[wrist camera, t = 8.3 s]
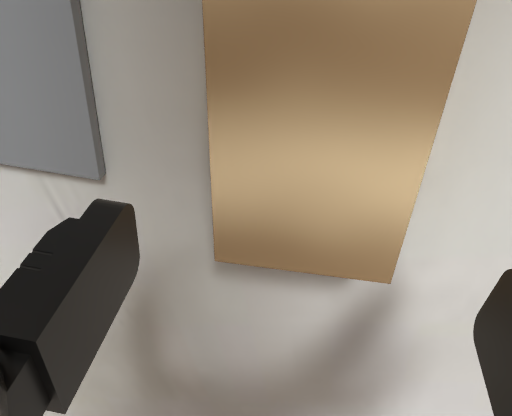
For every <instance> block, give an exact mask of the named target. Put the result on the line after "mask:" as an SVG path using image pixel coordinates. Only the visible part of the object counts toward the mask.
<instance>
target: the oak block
mask: <svg viewBox="0 0 512 416" xmlns="http://www.w3.org/2000/svg"><path fill="white" fill-rule="evenodd" d="M476 1H477V0H202V5H203V26H204V47H205V68H206V89H207V110H208V131H209V152H210V173H211V194H212V215H213V235H214V256H215V261H218V262H226V263H234V264H241V265H249V266H257V267H264V268H272V269H280V270H288V271H295V272H303V273H311V274H318V275H326V276H334V277H341V278H349V279H357V280H364V281H372V282H380V283H387V284H390V283H391V280H392V277H393V273H394V270H395V267H396V263H397V260H398V257H399V254H400V250H401V247H402V244H403V241H404V237H405V234H406V231H407V227H408V224H409V221H410V218H411V214H412V211H413V208H414V205H415V201H416V198H417V195H418V191H419V188H420V185H421V182H422V178H423V175H424V172H425V168H426V165H427V162H428V159H429V155H430V152H431V149H432V146H433V142H434V139H435V136H436V132H437V129H438V126H439V123H440V119H441V116H442V113H443V109H444V106H445V103H446V100H447V96H448V93H449V90H450V87H451V83H452V80H453V77H454V73H455V70H456V67H457V64H458V60H459V57H460V54H461V51H462V47H463V44H464V41H465V37H466V34H467V31H468V28H469V24H470V21H471V18H472V14H473V11H474V8H475V5H476Z"/></svg>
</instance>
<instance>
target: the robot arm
mask: <svg viewBox="0 0 512 416" xmlns="http://www.w3.org/2000/svg"><path fill="white" fill-rule="evenodd" d="M139 259H140V253H139V244H138V236H137V228H136V220H135V212H134V208H133V206H132V205H131V204H127V203H121V202H115V201H109V200H103V199H96V200H94V201H93V202H92V203H91V204H90V206H89V207H88V208H87V210H86V211H85V212H84V214H83V215H82V216H81V218H80V219H75V218H68V219H66V220H65V221H63V222H61V223H60V224H58V225H57V226H55V227H54V228H52V229H50V230H49V231H47V233H46V234H45V235H44V236H43V237H42V239H41V240H40V241H39V242H38V244H37V245H36V246H35V247H34V248H33V252H32V253H29V254H28V256H27V257H26V258H25V259H24V261H23V262H22V263H21V264H20V268H19V269H18V268H17V269H16V270H15V271H14V273H13V274H12V275H11V276H10V278H9V279H8V280H7V281H6V282H5V284H4V285H3V286H2V287H1V288H0V416H43V414H44V412H45V410H47V411H52V412H57V413H62V414H66V412H67V410H68V408H69V406H70V404H71V402H72V400H73V398H74V396H75V394H76V392H77V390H78V388H79V386H80V384H81V382H82V380H83V379H84V377H85V375H86V373H87V371H88V369H89V367H90V365H91V363H92V361H93V359H94V357H95V355H96V353H97V351H98V349H99V347H100V346H101V344H102V342H103V340H104V338H105V336H106V334H107V332H108V330H109V328H110V326H111V324H112V322H113V320H114V318H115V316H116V314H117V312H118V311H119V309H120V307H121V305H122V303H123V301H124V299H125V297H126V295H127V293H128V291H129V289H130V287H131V285H132V283H133V281H134V279H135V277H136V274H137V271H138V266H139ZM473 335H474V343H475V347H476V351H477V355H478V358H479V362H480V366H481V369H482V373H483V377H484V380H485V384H486V388H487V391H488V395H489V399H490V403H491V406H492V410H493V414H494V416H512V269H509V270H507V271H505V272H504V273H503V275H502V276H501V278H500V279H499V281H498V282H497V284H496V286H495V287H494V289H493V290H492V292H491V293H490V295H489V297H488V298H487V300H486V301H485V303H484V305H483V306H482V308H481V309H480V311H479V312H478V314H477V316H476V319H475V323H474V331H473Z"/></svg>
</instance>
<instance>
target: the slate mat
mask: <svg viewBox="0 0 512 416" xmlns="http://www.w3.org/2000/svg"><path fill="white" fill-rule="evenodd" d="M0 164H4V165H10V166H16V167H22V168H28V169H34V170H40V171H46V172H52V173H59V174H65V175H71V176H77V177H83V178H89V179H95V180H100V179H101V178H102V177H103V176H104V174H105V166H104V160H103V153H102V147H101V140H100V134H99V127H98V120H97V114H96V107H95V101H94V94H93V88H92V81H91V75H90V68H89V61H88V55H87V48H86V42H85V35H84V29H83V22H82V16H81V9H80V2H79V0H0Z"/></svg>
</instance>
